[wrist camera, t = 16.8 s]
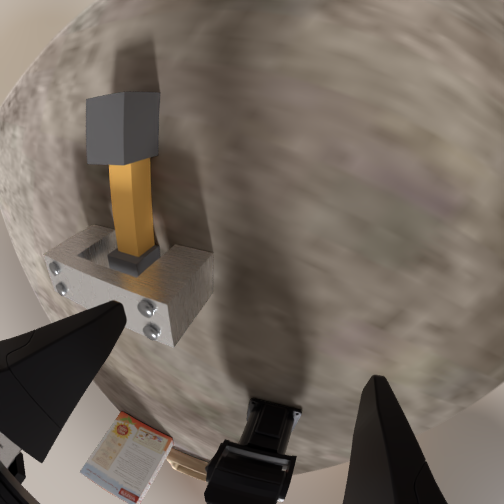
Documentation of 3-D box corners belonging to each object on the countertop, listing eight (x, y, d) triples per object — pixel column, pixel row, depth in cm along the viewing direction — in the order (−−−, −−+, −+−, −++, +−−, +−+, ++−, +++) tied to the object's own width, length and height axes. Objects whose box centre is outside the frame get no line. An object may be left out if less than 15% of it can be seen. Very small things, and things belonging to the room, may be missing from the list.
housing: (212, 292, 24) (171, 350, 18) (99, 257, 27) (52, 292, 21) (213, 252, 22) (164, 307, 16) (93, 224, 25) (40, 256, 19)
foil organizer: (277, 491, 54) (273, 501, 51) (178, 460, 60) (174, 469, 57) (285, 484, 47) (281, 495, 44) (171, 448, 54) (166, 458, 51)
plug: (163, 265, 24) (138, 289, 21) (130, 256, 25) (104, 276, 22) (160, 92, 17) (124, 91, 14) (122, 97, 18) (86, 99, 14)
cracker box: (125, 418, 54) (86, 476, 36) (121, 409, 50) (77, 471, 33) (174, 444, 51) (138, 508, 34) (173, 438, 48) (133, 507, 31)
